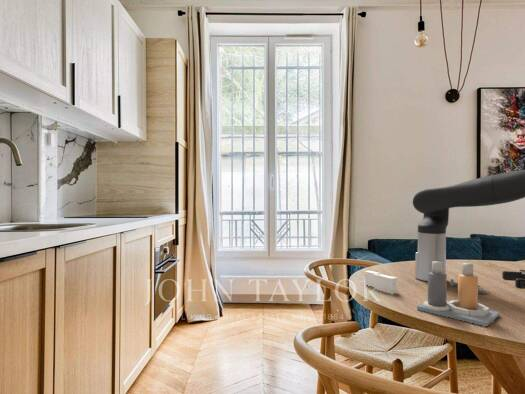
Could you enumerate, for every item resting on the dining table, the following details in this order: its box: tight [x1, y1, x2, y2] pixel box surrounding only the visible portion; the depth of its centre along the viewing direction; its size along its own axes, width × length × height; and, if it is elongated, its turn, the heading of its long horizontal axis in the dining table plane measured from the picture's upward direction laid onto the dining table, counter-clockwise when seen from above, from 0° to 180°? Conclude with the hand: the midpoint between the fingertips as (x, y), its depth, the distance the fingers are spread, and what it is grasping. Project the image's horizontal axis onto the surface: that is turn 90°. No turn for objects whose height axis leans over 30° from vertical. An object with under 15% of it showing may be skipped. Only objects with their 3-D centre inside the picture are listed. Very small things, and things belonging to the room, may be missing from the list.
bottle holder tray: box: [416, 261, 501, 327], centre depth 87 cm, size 16×11×13 cm
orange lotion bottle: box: [457, 262, 479, 310], centre depth 87 cm, size 4×4×12 cm
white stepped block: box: [364, 270, 398, 295], centre depth 111 cm, size 15×11×6 cm
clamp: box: [449, 278, 487, 295], centre depth 110 cm, size 15×2×10 cm
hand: (509, 279), depth 84 cm, fingers open, 8 cm apart
